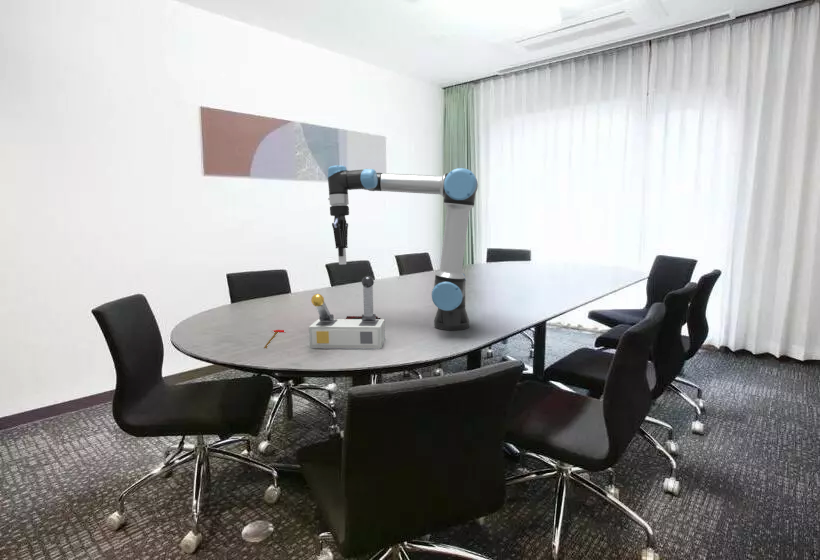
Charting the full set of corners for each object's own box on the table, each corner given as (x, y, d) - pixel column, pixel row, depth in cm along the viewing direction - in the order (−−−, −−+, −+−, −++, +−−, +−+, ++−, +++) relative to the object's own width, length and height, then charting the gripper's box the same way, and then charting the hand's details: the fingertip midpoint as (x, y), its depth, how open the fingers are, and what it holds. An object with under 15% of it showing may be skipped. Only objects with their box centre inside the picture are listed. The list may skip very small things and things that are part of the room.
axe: (293, 331, 187) (271, 331, 188) (293, 329, 187) (271, 328, 188) (266, 350, 162) (241, 349, 163) (266, 347, 162) (240, 347, 163)
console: (385, 339, 171) (384, 318, 170) (380, 349, 159) (379, 326, 158) (319, 338, 173) (318, 318, 172) (309, 348, 161) (308, 326, 160)
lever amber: (334, 313, 167) (323, 291, 153) (332, 324, 165) (322, 302, 151) (321, 313, 168) (310, 291, 154) (320, 324, 166) (308, 302, 151)
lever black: (376, 319, 166) (375, 275, 164) (374, 322, 162) (373, 276, 160) (363, 319, 167) (362, 275, 164) (361, 322, 162) (360, 276, 160)
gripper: (335, 207, 184) (339, 263, 187) (324, 205, 172) (328, 265, 174) (353, 206, 183) (356, 262, 185) (342, 204, 170) (346, 265, 172)
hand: (342, 264), depth 180 cm, fingers closed
